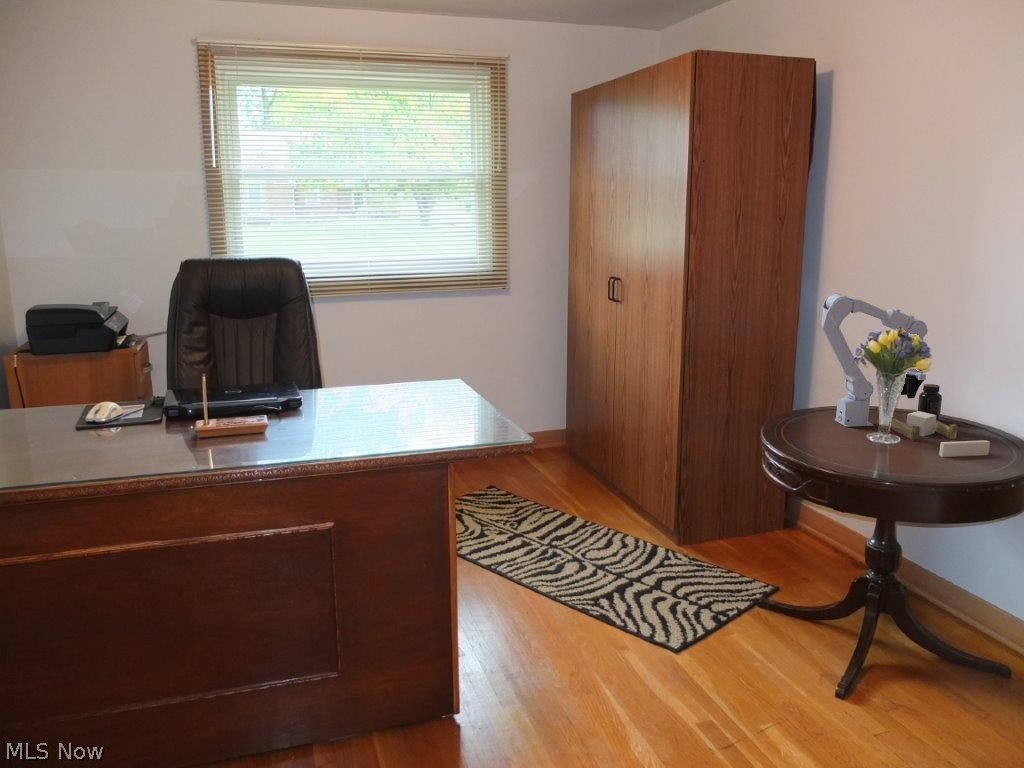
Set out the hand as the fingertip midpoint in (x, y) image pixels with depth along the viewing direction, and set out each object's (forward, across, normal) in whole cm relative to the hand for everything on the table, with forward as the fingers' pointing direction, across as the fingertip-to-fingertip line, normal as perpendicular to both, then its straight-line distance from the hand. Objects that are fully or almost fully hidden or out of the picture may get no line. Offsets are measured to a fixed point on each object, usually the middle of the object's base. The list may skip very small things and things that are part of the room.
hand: (907, 396), depth 258 cm
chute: (+9, -10, 0) cm, 14 cm away
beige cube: (+10, -9, 0) cm, 13 cm away
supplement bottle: (+10, +3, -10) cm, 14 cm away
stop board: (+9, -31, 0) cm, 32 cm away
